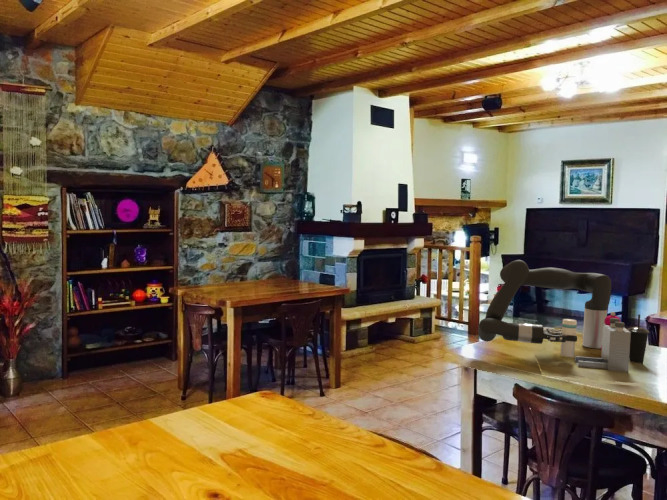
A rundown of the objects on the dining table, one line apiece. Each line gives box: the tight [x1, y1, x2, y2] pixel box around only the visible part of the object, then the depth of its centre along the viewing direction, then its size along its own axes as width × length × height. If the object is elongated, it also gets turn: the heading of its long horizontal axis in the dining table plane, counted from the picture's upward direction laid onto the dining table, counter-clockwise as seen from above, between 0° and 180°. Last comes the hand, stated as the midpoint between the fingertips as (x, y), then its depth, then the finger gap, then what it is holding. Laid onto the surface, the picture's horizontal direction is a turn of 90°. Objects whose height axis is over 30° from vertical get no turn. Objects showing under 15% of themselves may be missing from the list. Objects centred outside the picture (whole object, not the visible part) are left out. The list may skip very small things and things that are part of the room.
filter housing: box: [574, 325, 631, 373], centre depth 217 cm, size 12×17×16 cm
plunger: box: [610, 318, 620, 327], centre depth 219 cm, size 3×3×6 cm
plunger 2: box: [615, 321, 625, 332], centre depth 212 cm, size 3×3×6 cm
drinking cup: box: [627, 314, 650, 365], centre depth 226 cm, size 8×8×20 cm
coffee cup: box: [560, 318, 578, 358], centre depth 220 cm, size 5×5×14 cm
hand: (575, 337), depth 219 cm, fingers closed on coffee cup, 5 cm apart
